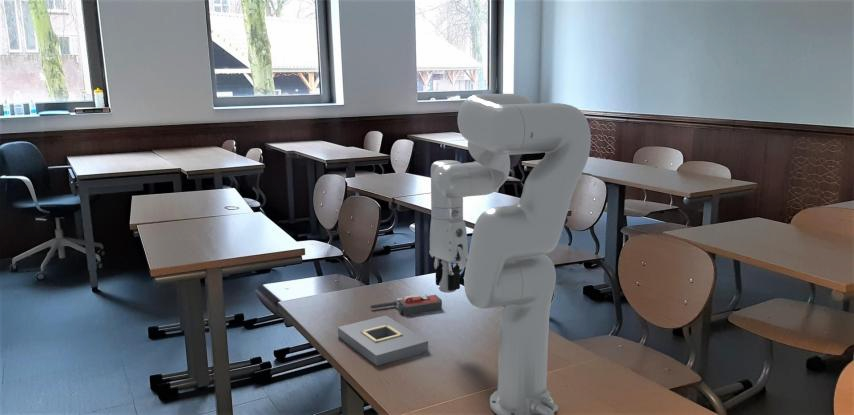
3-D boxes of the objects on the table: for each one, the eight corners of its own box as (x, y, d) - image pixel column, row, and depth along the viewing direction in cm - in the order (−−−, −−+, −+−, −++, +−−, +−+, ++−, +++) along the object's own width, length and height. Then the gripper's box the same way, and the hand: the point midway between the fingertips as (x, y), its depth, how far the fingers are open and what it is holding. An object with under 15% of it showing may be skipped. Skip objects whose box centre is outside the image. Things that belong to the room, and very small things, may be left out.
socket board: (428, 350, 152) (427, 339, 151) (376, 365, 144) (376, 354, 144) (386, 324, 168) (385, 314, 168) (338, 336, 161) (337, 326, 160)
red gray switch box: (435, 300, 187) (369, 310, 180) (435, 286, 186) (369, 295, 179) (446, 310, 178) (378, 320, 172) (446, 295, 178) (377, 305, 171)
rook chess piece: (455, 293, 152) (455, 261, 150) (437, 292, 152) (436, 260, 151) (458, 287, 156) (458, 256, 154) (440, 286, 157) (440, 255, 155)
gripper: (481, 216, 146) (481, 293, 149) (439, 205, 159) (440, 275, 163) (455, 221, 142) (455, 299, 145) (414, 209, 155) (415, 281, 159)
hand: (447, 286), depth 154 cm, fingers closed on rook chess piece, 4 cm apart
